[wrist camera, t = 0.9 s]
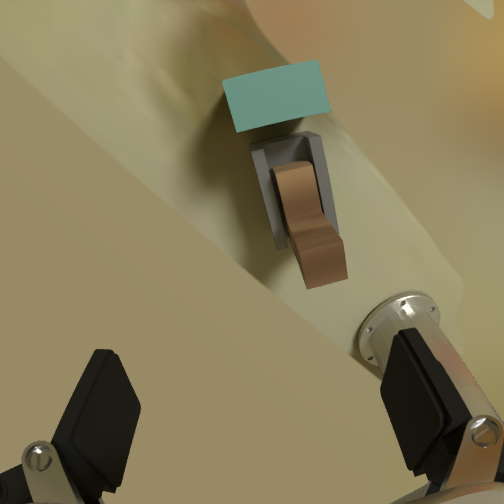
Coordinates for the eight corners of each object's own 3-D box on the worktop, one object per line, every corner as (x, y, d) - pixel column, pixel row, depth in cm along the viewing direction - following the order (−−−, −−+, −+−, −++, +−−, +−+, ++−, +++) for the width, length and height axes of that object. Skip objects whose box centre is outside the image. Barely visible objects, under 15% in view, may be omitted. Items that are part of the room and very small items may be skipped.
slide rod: (320, 230, 30) (347, 278, 22) (289, 238, 30) (307, 289, 22) (305, 158, 27) (333, 182, 19) (272, 166, 27) (285, 194, 19)
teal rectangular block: (308, 109, 28) (331, 111, 21) (237, 126, 29) (236, 132, 22) (298, 71, 27) (317, 59, 19) (226, 87, 27) (221, 80, 20)
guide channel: (325, 215, 33) (339, 234, 28) (271, 228, 33) (277, 250, 29) (307, 130, 29) (320, 135, 24) (249, 144, 30) (251, 151, 25)
